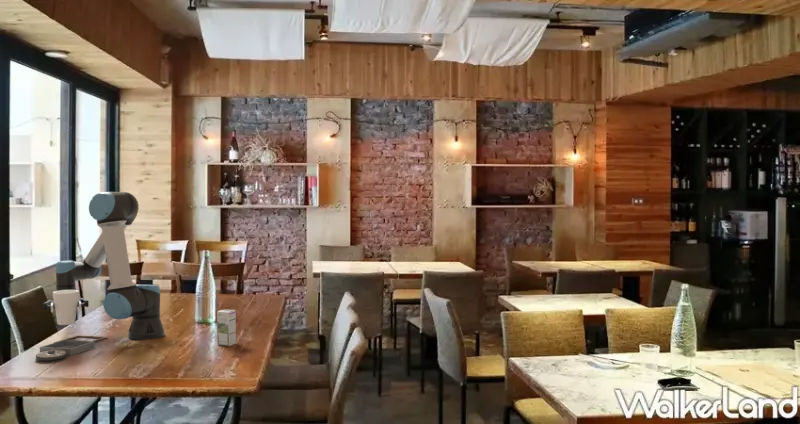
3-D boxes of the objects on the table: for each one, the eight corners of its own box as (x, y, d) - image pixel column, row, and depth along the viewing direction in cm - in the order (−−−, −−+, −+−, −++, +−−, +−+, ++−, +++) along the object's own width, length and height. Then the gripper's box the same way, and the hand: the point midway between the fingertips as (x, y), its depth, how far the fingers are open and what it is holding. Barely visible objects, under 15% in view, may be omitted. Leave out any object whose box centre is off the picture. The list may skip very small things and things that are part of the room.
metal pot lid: (72, 357, 274) (72, 347, 273) (53, 363, 263) (53, 354, 263) (49, 355, 276) (49, 346, 276) (29, 361, 266) (29, 352, 266)
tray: (94, 347, 289) (94, 341, 289) (70, 355, 276) (70, 349, 276) (64, 345, 293) (64, 339, 293) (39, 353, 279) (39, 347, 279)
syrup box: (236, 343, 298) (236, 309, 298) (228, 346, 293) (228, 311, 292) (224, 342, 300) (224, 308, 300) (216, 345, 295) (216, 311, 294)
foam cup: (68, 326, 279) (67, 293, 278) (48, 325, 281) (47, 292, 280) (84, 321, 288) (83, 290, 288) (64, 320, 290) (63, 289, 290)
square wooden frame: (107, 338, 307) (107, 336, 307) (84, 346, 292) (84, 344, 292) (77, 336, 310) (77, 335, 310) (53, 344, 296) (53, 342, 296)
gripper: (94, 306, 305) (96, 315, 285) (36, 310, 296) (35, 319, 276) (94, 289, 305) (96, 296, 285) (36, 292, 296) (34, 300, 275)
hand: (66, 308), depth 280 cm, fingers closed on foam cup, 9 cm apart
